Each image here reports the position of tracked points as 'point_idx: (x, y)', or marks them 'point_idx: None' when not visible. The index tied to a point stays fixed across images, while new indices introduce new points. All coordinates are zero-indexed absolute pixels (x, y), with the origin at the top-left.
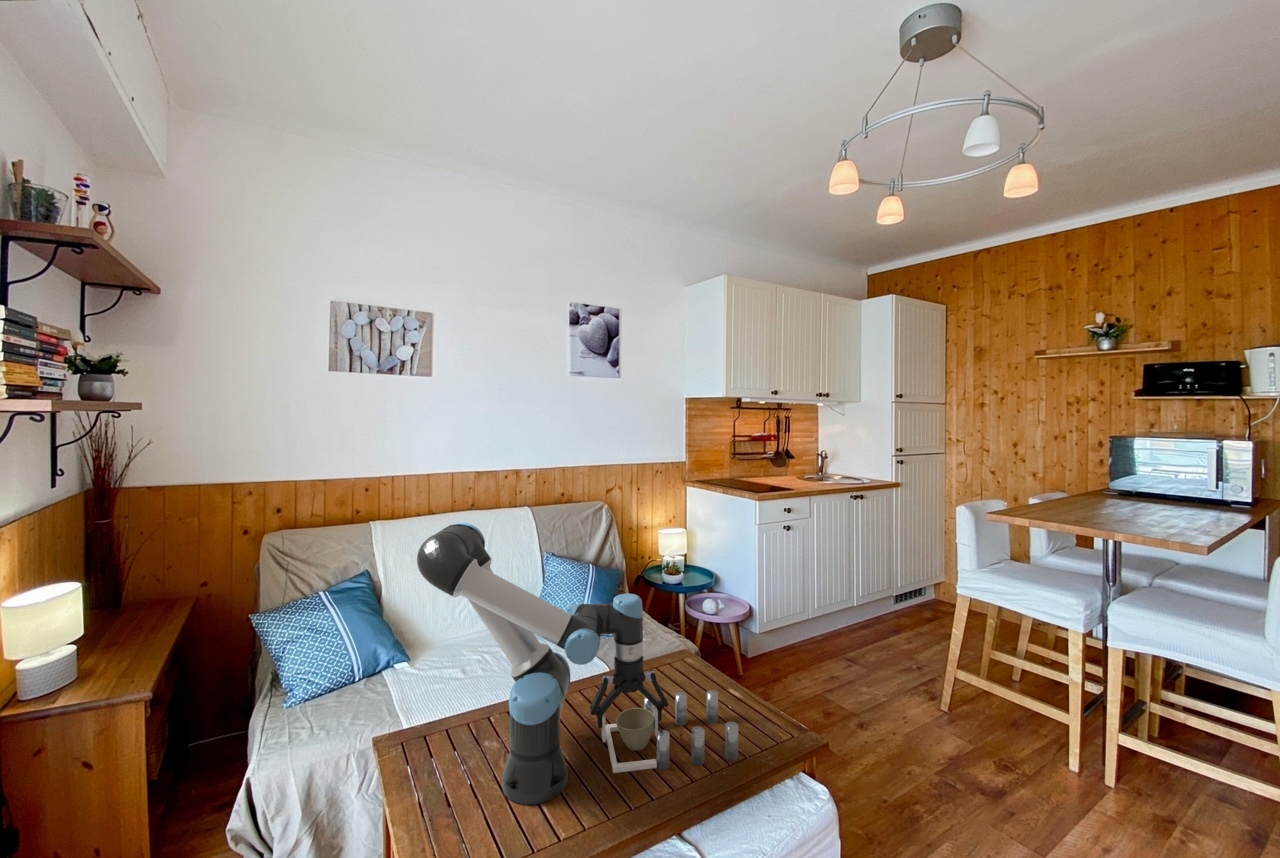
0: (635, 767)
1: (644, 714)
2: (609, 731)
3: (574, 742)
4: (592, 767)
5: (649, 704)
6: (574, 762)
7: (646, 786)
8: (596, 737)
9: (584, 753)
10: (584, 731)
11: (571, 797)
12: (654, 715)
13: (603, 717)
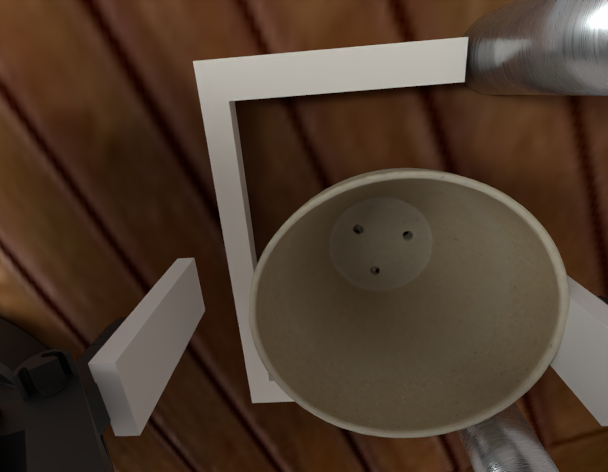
0: None
1: (495, 207)
2: (229, 143)
3: (49, 179)
4: None
5: (605, 95)
6: (89, 318)
7: (370, 449)
8: (161, 146)
9: (120, 268)
10: (79, 76)
11: (121, 463)
12: (571, 367)
13: (125, 434)
